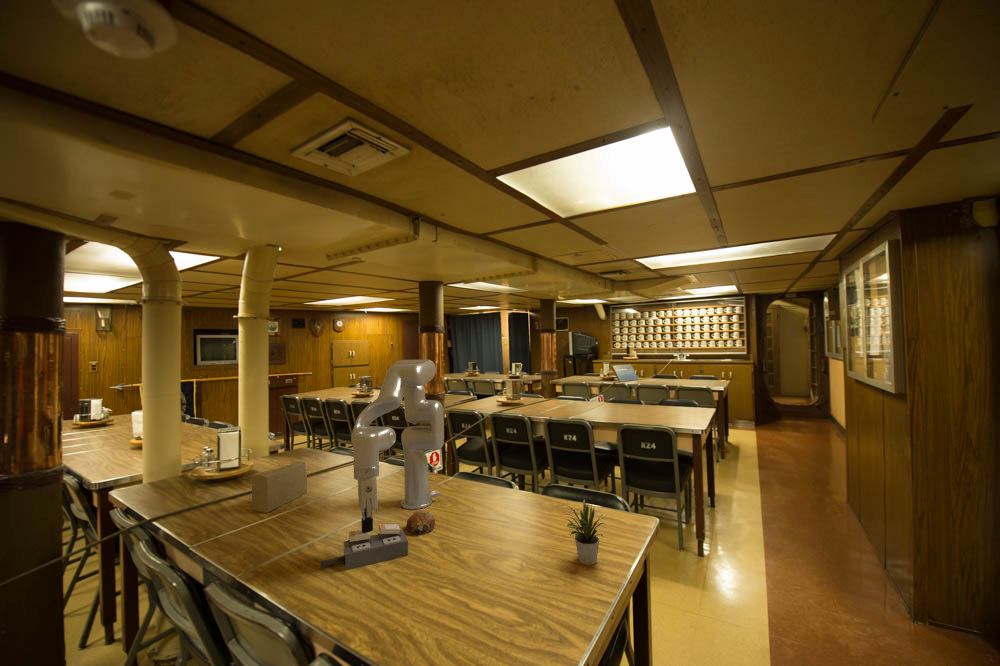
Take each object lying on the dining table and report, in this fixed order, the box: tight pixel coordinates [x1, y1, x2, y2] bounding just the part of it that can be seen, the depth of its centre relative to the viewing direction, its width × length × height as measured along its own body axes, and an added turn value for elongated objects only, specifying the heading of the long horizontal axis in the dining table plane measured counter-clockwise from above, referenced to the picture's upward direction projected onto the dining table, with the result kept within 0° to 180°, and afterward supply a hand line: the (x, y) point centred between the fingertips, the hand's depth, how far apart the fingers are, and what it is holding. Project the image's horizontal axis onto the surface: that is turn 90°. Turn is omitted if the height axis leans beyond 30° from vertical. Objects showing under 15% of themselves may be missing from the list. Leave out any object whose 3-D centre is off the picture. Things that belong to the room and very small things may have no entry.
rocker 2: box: [378, 523, 401, 534], centre depth 128 cm, size 6×4×2 cm, turn 114°
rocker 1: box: [348, 529, 372, 542], centre depth 124 cm, size 6×4×2 cm, turn 115°
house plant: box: [562, 499, 606, 566], centre depth 119 cm, size 14×14×16 cm
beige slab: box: [251, 460, 308, 514], centre depth 171 cm, size 22×10×15 cm, turn 155°
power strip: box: [319, 528, 409, 571], centre depth 122 cm, size 25×9×5 cm, turn 115°
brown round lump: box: [406, 510, 436, 536], centre depth 142 cm, size 10×10×8 cm
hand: (367, 530), depth 125 cm, fingers closed
